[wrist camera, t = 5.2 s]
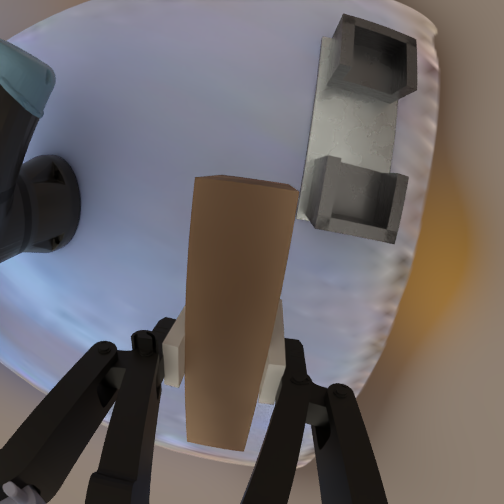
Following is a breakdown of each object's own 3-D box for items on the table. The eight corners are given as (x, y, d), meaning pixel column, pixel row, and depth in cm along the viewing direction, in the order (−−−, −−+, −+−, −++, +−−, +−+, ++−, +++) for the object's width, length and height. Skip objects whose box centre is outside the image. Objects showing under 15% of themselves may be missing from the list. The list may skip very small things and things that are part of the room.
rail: (203, 387, 21) (187, 441, 15) (221, 174, 16) (195, 177, 10) (249, 395, 21) (243, 451, 15) (288, 184, 16) (299, 191, 10)
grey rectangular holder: (295, 217, 31) (302, 231, 23) (321, 39, 24) (333, 7, 17) (374, 232, 31) (401, 251, 23) (396, 62, 24) (423, 39, 16)
